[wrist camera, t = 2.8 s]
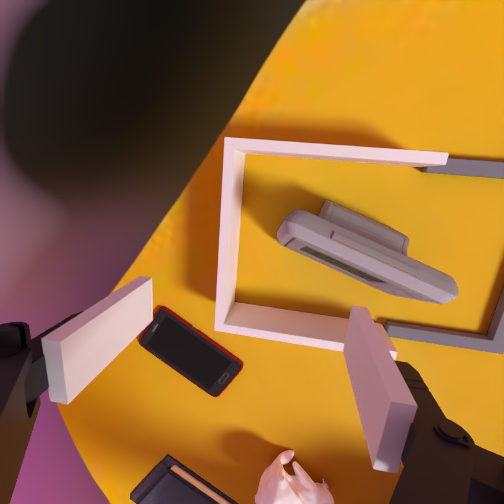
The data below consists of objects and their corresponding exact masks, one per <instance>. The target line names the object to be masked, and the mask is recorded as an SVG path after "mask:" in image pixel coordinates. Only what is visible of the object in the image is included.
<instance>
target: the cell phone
mask: <svg viewBox="0 0 504 504" xmlns="http://www.w3.org/2000/svg"><path fill="white" fill-rule="evenodd" d="M139 344H140V345H141V346H142V347H143V348H145V349H146V350H147V351H149V352H150V353H152V354H153V355H154V356H156V357H157V356H158V357H157V358H159V359H160V360H161V361H163V362H164V361H165V362H164V363H166V364H167V365H168V366H170V367H171V368H173V369H174V370H176V371H177V372H178V373H180V374H181V375H183V376H184V377H185V378H187V379H188V380H190V381H191V382H192V383H194V384H195V385H197V386H198V387H199V388H201V389H202V390H204V391H205V392H207V393H208V394H210V395H211V396H213V397H218V396H219V395H220V394H221V393H222V392H223V391H224V390H225V389H226V387H227V386H228V385H229V384H230V383H231V382H232V380H233V379H234V378H235V377H236V376H237V375H238V374H239V372H240V371H241V370H242V368H243V362H242V361H241V360H240V359H239V358H238V357H236V356H235V355H233V354H232V353H231V352H229V351H228V350H226V349H225V348H224V347H222V346H221V345H219V344H218V343H217V342H215V341H214V340H212V339H211V338H210V337H208V336H207V335H205V334H204V333H203V332H201V331H200V330H197V329H196V328H194V327H193V326H192V325H191V324H190V323H189V322H187V321H186V320H184V319H183V318H181V317H180V316H179V315H177V314H176V313H174V312H173V311H172V310H170V309H168V308H167V307H164V306H163V307H160V308H159V309H158V310H157V312H156V313H155V315H154V316H153V321H152V322H151V323H150V324H149V325H148V326H147V327H146V328H145V330H144V331H143V333H142V334H141V336H140V338H139Z"/></svg>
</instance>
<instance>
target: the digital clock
mask: <svg viewBox="0 0 504 504" xmlns="http://www.w3.org/2000/svg"><path fill="white" fill-rule="evenodd" d="M277 239H278V243H279V244H280V245H282V246H284V247H287V248H289V249H291V250H293V251H295V252H297V253H300V254H302V255H304V256H306V257H308V258H311V259H313V260H315V261H317V262H319V263H322V264H324V265H326V266H328V267H330V268H333V269H335V270H337V271H339V272H341V273H343V274H346V275H348V276H350V277H352V278H354V279H357V280H359V281H361V282H363V283H365V284H368V285H370V286H372V287H374V288H376V289H379V290H381V291H383V292H385V293H388V294H391V295H395V296H400V297H405V298H410V299H415V300H421V301H426V302H431V303H437V304H444V303H446V302H449V301H451V300H454V299H456V298H457V295H458V287H457V284H456V282H455V280H454V279H453V278H452V277H451V276H449V275H447V274H445V273H443V272H441V271H439V270H436V269H434V268H432V267H430V266H428V265H425V264H423V263H421V262H419V261H417V260H414V259H412V258H410V257H408V256H407V247H408V244H409V238H408V237H407V236H406V235H404V234H402V233H400V232H398V231H396V230H394V229H392V228H390V227H388V226H385V225H383V224H381V223H379V222H376V221H374V220H372V219H370V218H367V217H365V216H363V215H361V214H358V213H356V212H354V211H352V210H350V209H347V208H345V207H343V206H341V205H338V204H336V203H334V202H332V201H329V200H326V201H325V203H324V205H323V207H322V209H321V211H320V213H319V215H318V216H316V215H314V214H312V213H309V212H307V211H304V210H296V211H294V212H292V213H290V214H289V215H288V216H287V217H286V218H285V220H284V221H283V223H282V225H281V226H280V228H279V230H278V232H277Z"/></svg>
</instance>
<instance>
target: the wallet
mask: <svg viewBox="0 0 504 504" xmlns="http://www.w3.org/2000/svg"><path fill="white" fill-rule="evenodd" d="M130 499H131V500H132V501H133V502H135V503H136V504H238V503H237V502H235V501H234V500H232V499H231V498H230V497H228V496H227V495H225V494H224V493H223V492H221V491H220V490H218V489H217V488H215V487H214V486H213V485H211V484H210V483H208V482H207V481H205V480H204V479H203V478H201V477H200V476H198V475H197V474H196V473H194V472H193V471H191V470H190V469H188V468H187V467H186V466H184V465H183V464H181V463H180V462H178V461H177V460H176V459H174V458H173V457H171V456H170V455H169V454H167V455H166V456H165V458H164V459H163V460H162V461H160V462H159V463H158V464H157V465H156V466H155V467H154V468H153V469H152V471H151V472H150V473H149V474H148V475H147V476H146V477H145V478H144V479H143V480H142V481H141V482H140V484H139V485H138V486H137V487H136V488H135V489H134V490H133V491H132V493H131V494H130Z"/></svg>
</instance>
